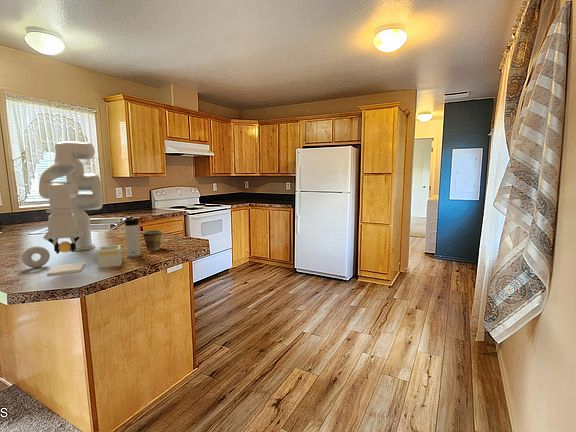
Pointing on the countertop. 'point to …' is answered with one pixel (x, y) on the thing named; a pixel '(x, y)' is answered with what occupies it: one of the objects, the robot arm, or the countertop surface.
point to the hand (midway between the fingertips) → (65, 251)
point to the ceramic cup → (152, 239)
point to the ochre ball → (64, 246)
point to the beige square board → (66, 268)
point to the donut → (33, 250)
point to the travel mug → (132, 238)
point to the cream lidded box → (109, 256)
